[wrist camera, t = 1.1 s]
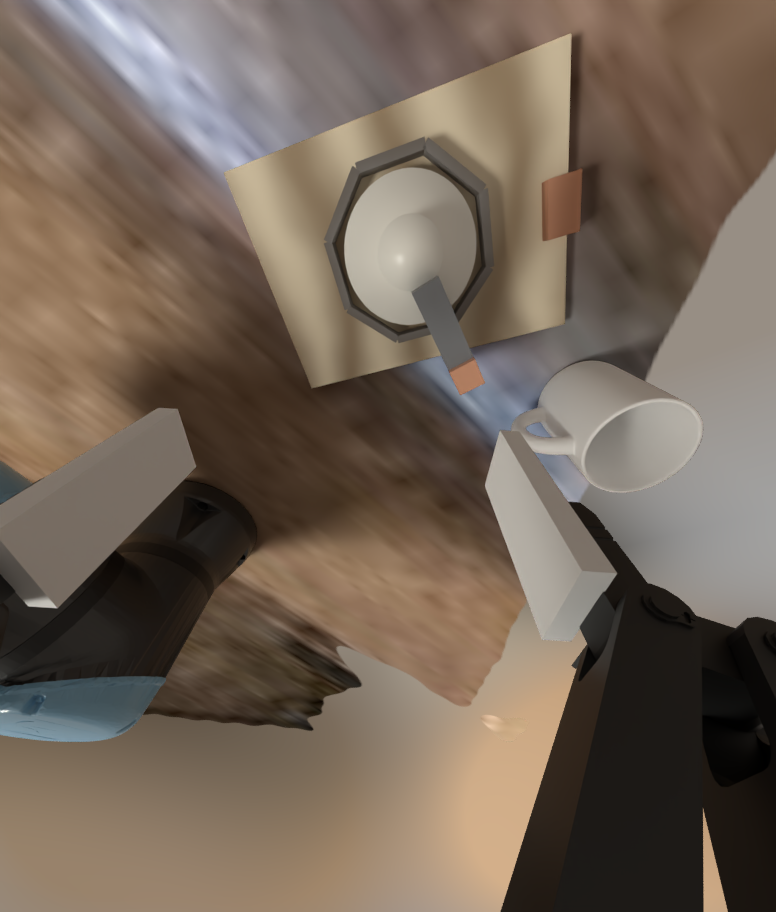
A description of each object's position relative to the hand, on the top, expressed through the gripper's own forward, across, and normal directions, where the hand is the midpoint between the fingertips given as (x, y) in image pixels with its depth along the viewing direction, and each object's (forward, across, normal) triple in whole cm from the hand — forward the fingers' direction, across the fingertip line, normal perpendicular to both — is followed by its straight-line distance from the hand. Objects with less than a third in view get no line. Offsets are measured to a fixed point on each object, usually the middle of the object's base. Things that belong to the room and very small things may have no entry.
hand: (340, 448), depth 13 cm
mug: (+20, +19, -5) cm, 28 cm away
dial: (+19, +4, +5) cm, 20 cm away
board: (+20, +3, +7) cm, 22 cm away
